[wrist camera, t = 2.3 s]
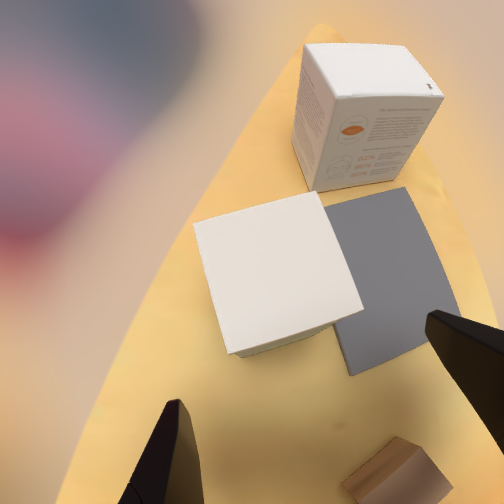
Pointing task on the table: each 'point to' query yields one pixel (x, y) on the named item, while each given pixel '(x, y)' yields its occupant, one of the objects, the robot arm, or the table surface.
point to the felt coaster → (387, 277)
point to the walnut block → (398, 477)
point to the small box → (359, 113)
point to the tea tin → (275, 273)
